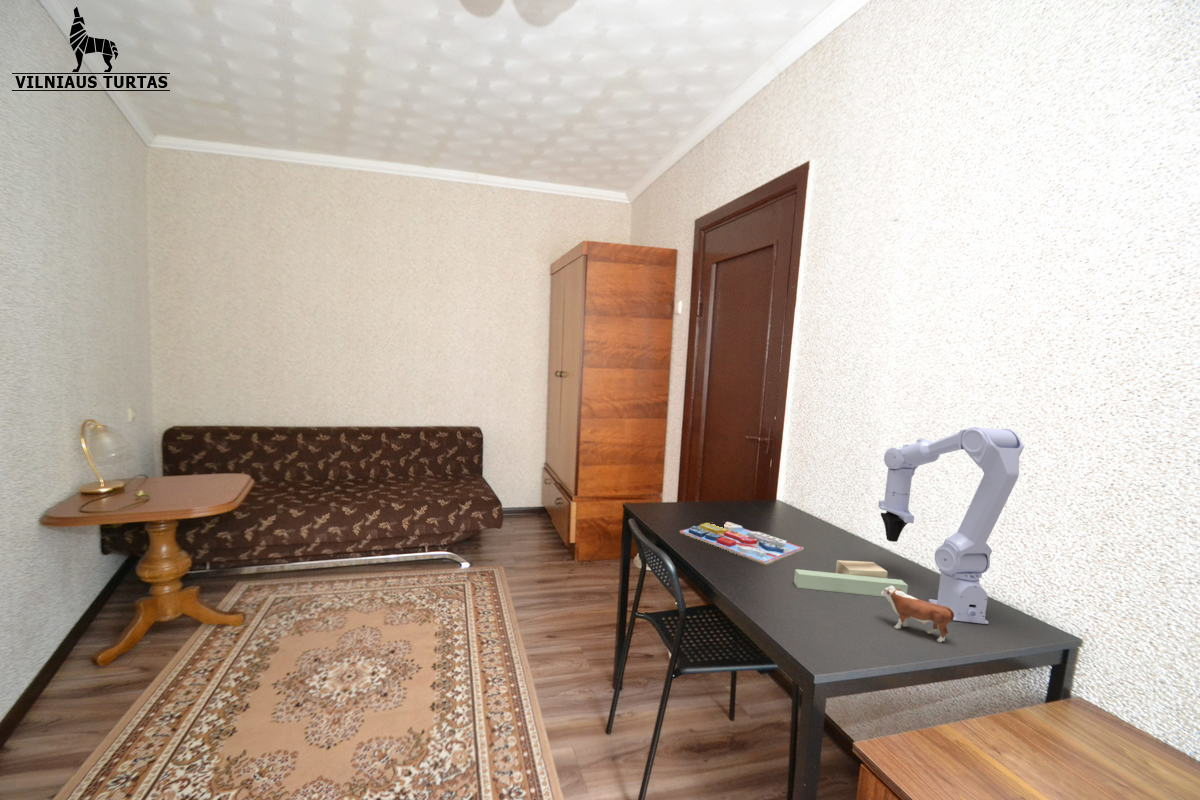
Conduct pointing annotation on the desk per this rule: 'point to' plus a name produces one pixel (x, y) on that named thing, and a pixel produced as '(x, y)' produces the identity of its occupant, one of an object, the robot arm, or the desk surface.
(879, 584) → the pale green block
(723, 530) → the puzzle board
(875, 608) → the desk surface
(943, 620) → the bull figurine
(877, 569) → the beech block
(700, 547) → the desk surface
